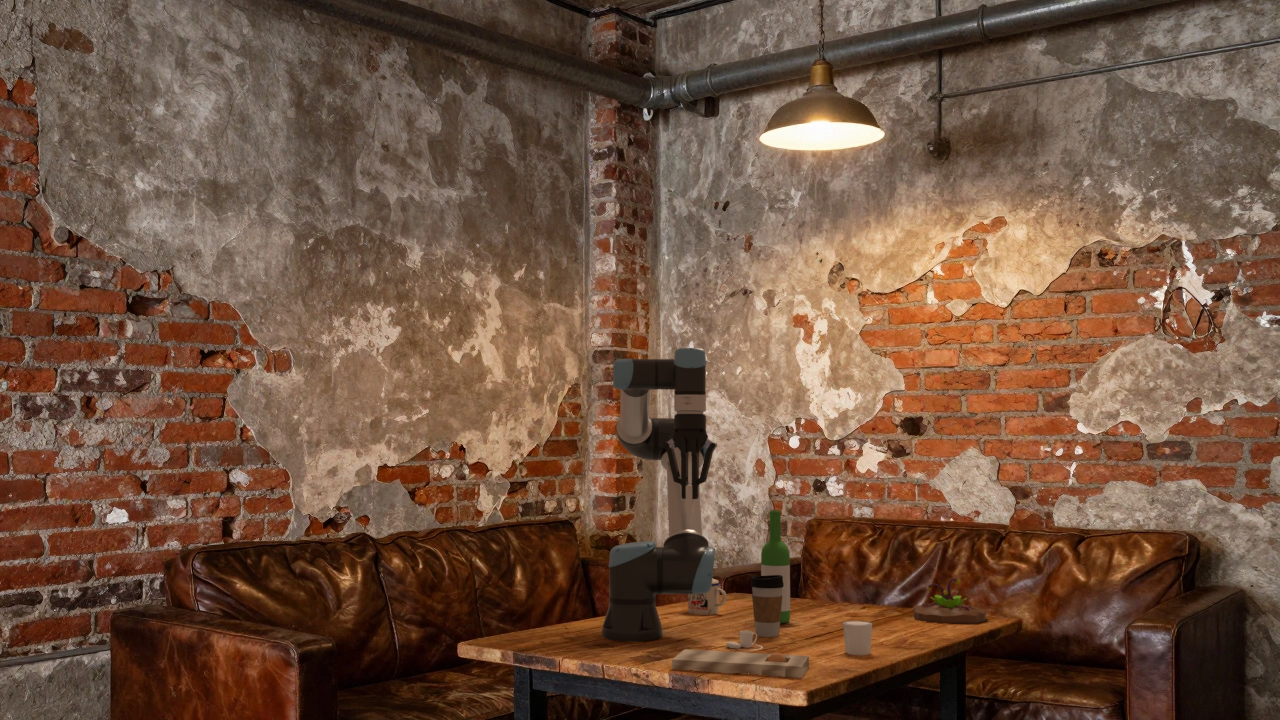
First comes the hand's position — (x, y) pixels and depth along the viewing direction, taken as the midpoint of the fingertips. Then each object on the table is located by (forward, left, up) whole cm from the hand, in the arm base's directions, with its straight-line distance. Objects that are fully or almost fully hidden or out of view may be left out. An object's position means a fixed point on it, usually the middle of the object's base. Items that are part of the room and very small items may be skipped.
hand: (690, 513), depth 273 cm
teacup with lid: (-8, +56, -33) cm, 66 cm away
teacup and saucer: (+9, +10, -33) cm, 36 cm away
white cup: (+38, +10, -33) cm, 51 cm away
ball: (+23, -16, -30) cm, 41 cm away
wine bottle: (+13, +48, -33) cm, 59 cm away
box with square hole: (+15, -16, -32) cm, 39 cm away
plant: (+59, +70, -33) cm, 97 cm away
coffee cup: (+14, +27, -33) cm, 45 cm away
